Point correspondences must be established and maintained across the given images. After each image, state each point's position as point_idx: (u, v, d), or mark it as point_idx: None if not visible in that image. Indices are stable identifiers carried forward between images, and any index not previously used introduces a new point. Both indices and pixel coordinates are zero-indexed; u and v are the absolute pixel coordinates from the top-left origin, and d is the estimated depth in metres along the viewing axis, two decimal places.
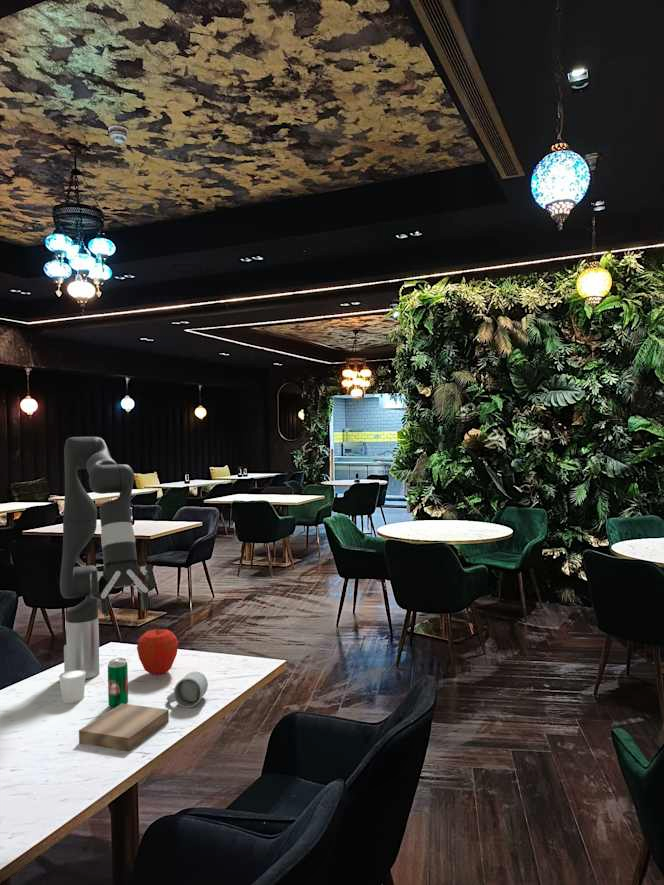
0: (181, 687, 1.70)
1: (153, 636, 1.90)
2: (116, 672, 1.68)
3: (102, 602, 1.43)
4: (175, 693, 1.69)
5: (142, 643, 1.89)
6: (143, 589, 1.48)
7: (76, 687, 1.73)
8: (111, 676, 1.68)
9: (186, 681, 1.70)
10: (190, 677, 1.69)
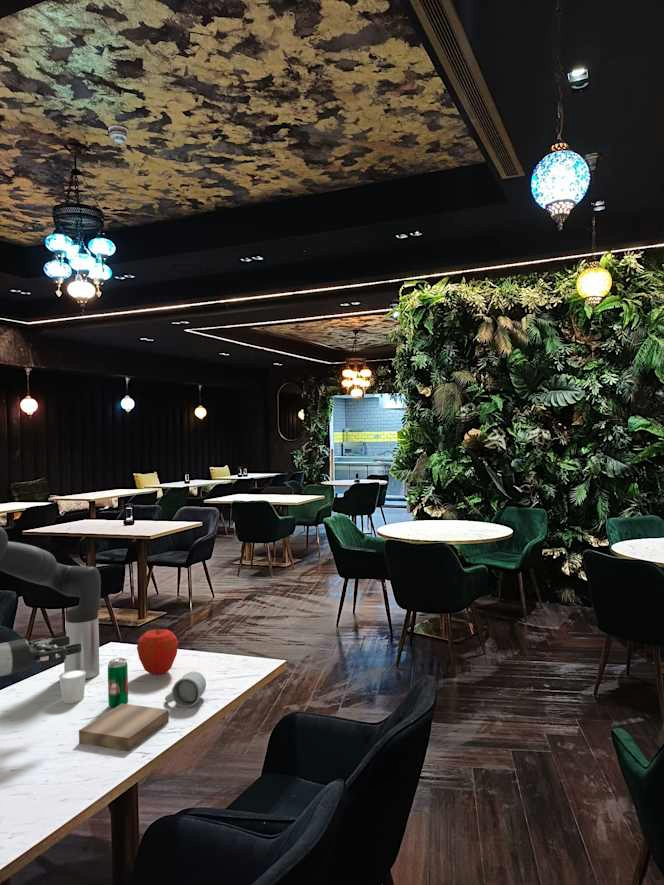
0: (179, 687, 1.70)
1: (153, 636, 1.90)
2: (116, 672, 1.68)
3: None
4: (173, 693, 1.69)
5: (142, 643, 1.89)
6: None
7: (76, 687, 1.73)
8: (111, 676, 1.68)
9: (184, 681, 1.70)
10: (188, 677, 1.69)
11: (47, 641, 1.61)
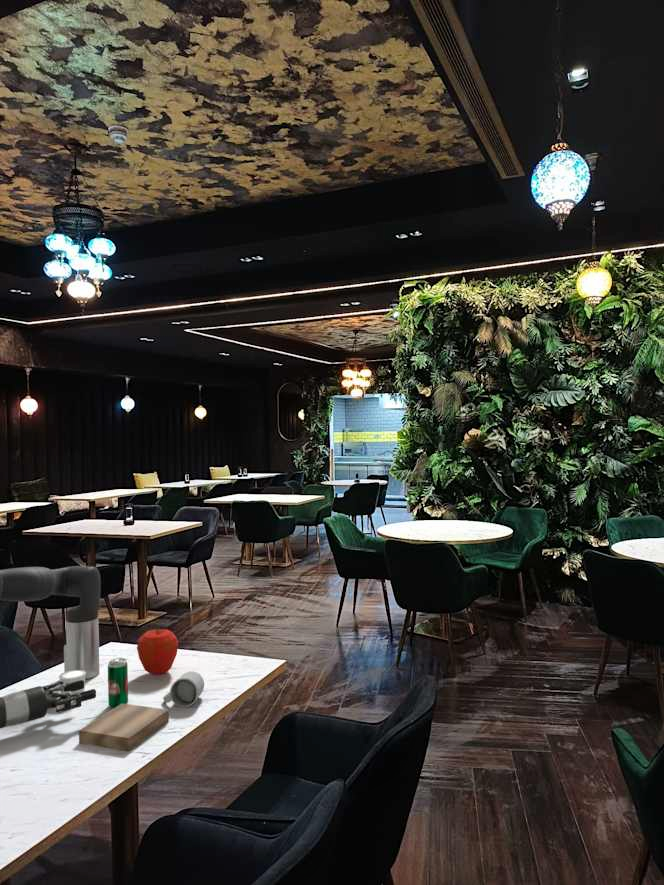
0: (177, 687, 1.70)
1: (153, 636, 1.90)
2: (116, 672, 1.68)
3: None
4: (171, 693, 1.69)
5: (142, 643, 1.89)
6: None
7: None
8: (111, 676, 1.68)
9: (182, 681, 1.70)
10: (186, 677, 1.69)
11: (62, 686, 1.64)
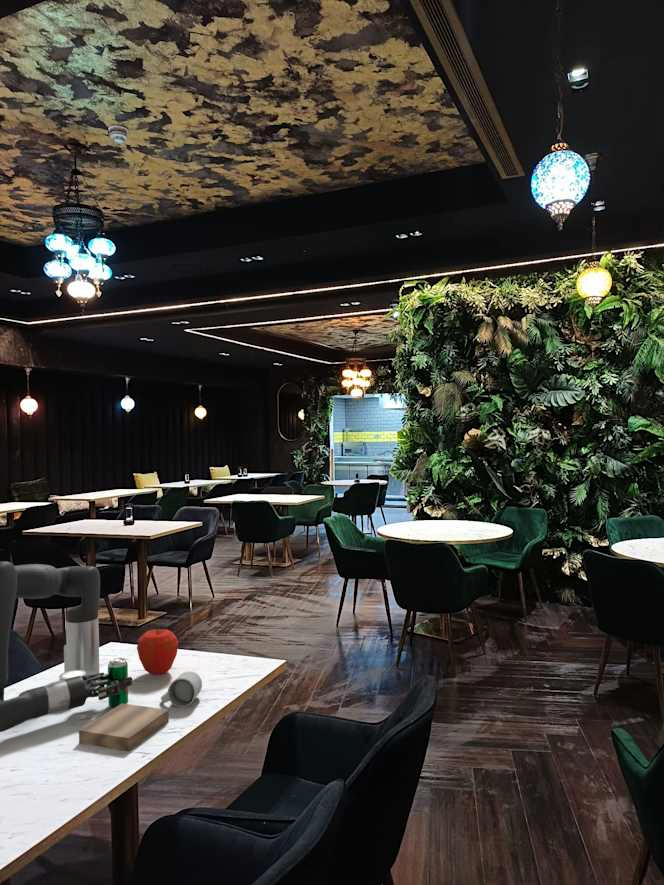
0: (175, 687, 1.70)
1: (153, 636, 1.90)
2: (116, 672, 1.68)
3: None
4: (169, 693, 1.69)
5: (142, 643, 1.89)
6: None
7: None
8: (111, 676, 1.68)
9: (180, 681, 1.70)
10: (184, 677, 1.69)
11: (101, 677, 1.70)
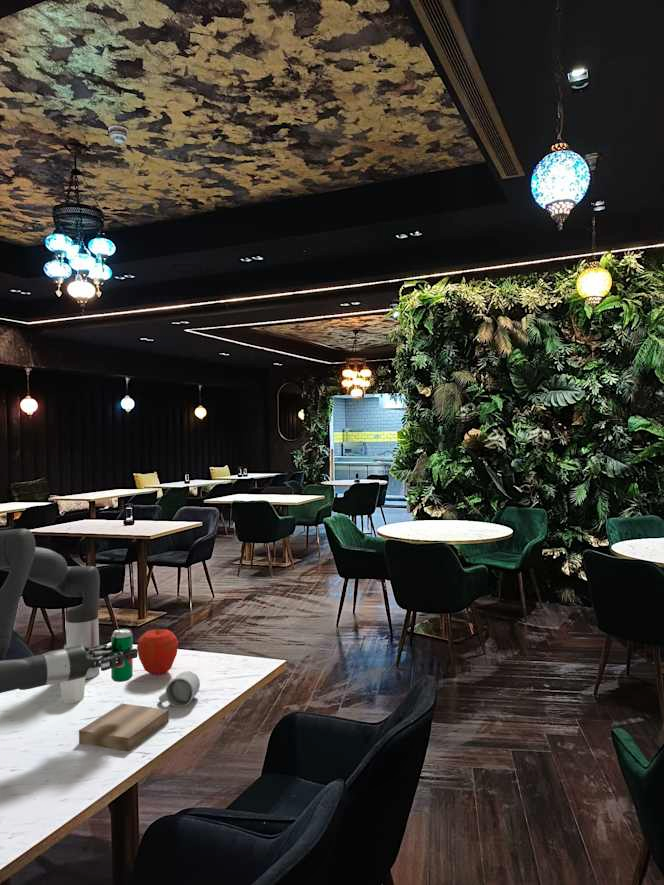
0: (173, 687, 1.70)
1: (153, 636, 1.90)
2: (120, 642, 1.56)
3: None
4: (167, 693, 1.69)
5: (142, 643, 1.89)
6: None
7: (76, 687, 1.73)
8: (114, 647, 1.56)
9: (178, 681, 1.70)
10: (182, 677, 1.69)
11: (104, 648, 1.58)
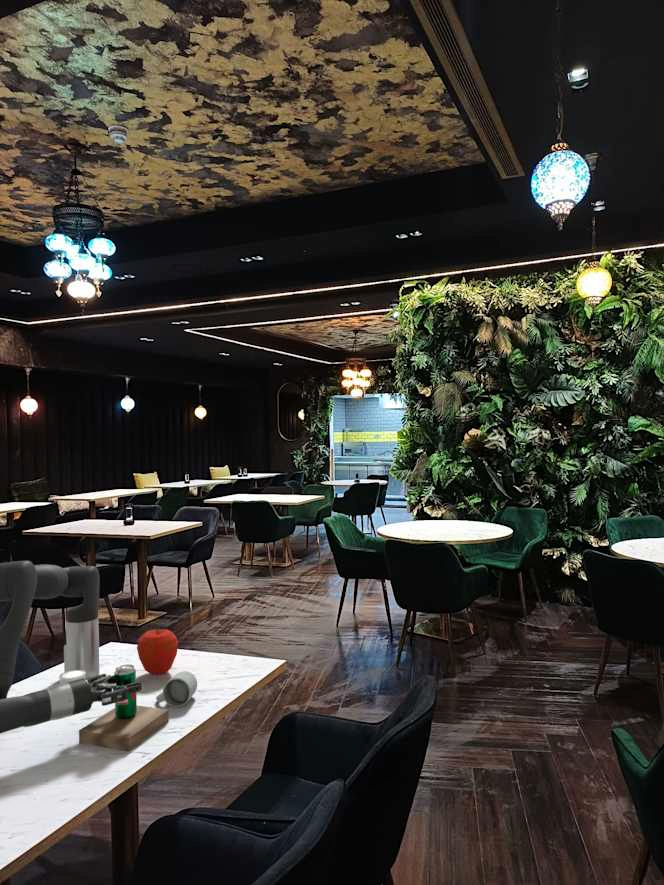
0: (170, 687, 1.70)
1: (153, 636, 1.90)
2: (123, 679, 1.54)
3: None
4: (164, 693, 1.69)
5: (142, 643, 1.89)
6: None
7: None
8: (118, 685, 1.54)
9: (175, 681, 1.70)
10: (179, 677, 1.69)
11: (105, 679, 1.56)
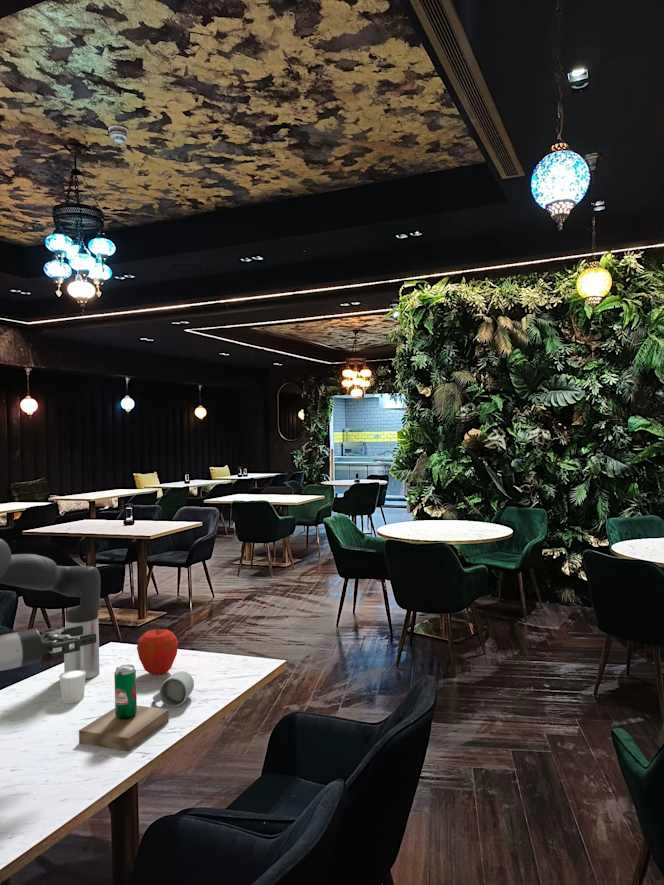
0: (167, 687, 1.70)
1: (153, 636, 1.90)
2: (123, 679, 1.54)
3: None
4: (161, 693, 1.69)
5: (142, 643, 1.89)
6: None
7: (76, 687, 1.73)
8: (118, 685, 1.54)
9: (172, 681, 1.70)
10: (176, 677, 1.70)
11: (59, 631, 1.49)
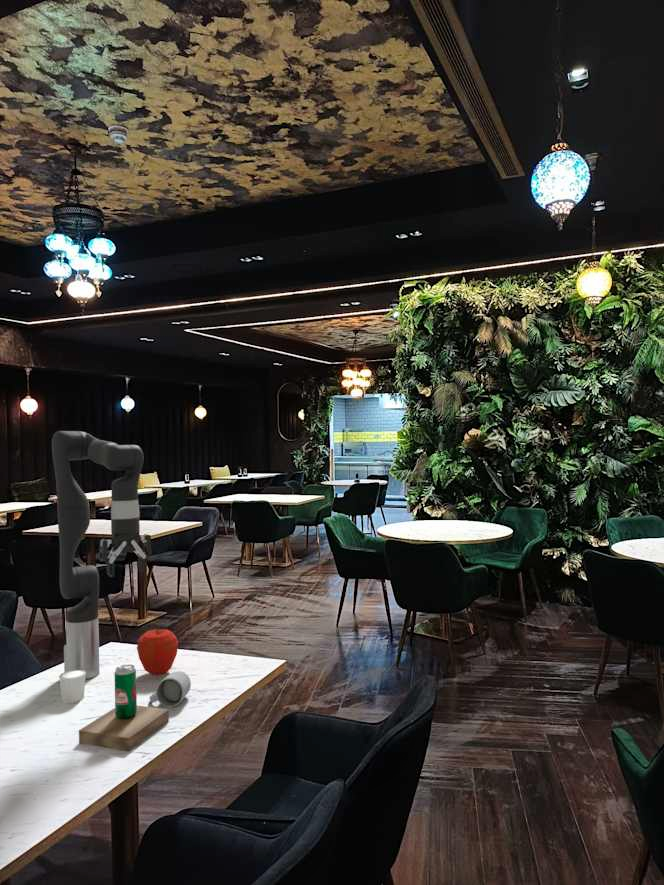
0: (163, 687, 1.71)
1: (153, 636, 1.90)
2: (123, 679, 1.54)
3: (109, 566, 1.73)
4: (157, 693, 1.69)
5: (142, 643, 1.89)
6: (142, 556, 1.78)
7: (76, 687, 1.73)
8: (118, 685, 1.54)
9: (168, 681, 1.70)
10: (172, 677, 1.70)
11: None
